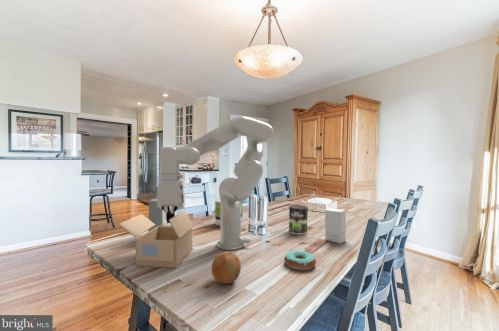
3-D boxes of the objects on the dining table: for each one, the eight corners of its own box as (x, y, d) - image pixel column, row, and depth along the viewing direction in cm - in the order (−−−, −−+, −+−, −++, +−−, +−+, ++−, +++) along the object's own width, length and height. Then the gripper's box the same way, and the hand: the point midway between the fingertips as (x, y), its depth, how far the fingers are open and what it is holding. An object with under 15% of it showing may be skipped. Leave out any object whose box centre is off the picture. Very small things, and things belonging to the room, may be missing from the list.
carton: (192, 248, 109) (193, 226, 109) (175, 269, 90) (175, 241, 89) (158, 247, 111) (158, 224, 110) (134, 266, 91) (134, 239, 91)
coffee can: (305, 235, 130) (306, 209, 129) (286, 233, 133) (287, 207, 133) (308, 230, 139) (309, 205, 139) (290, 228, 143) (291, 204, 142)
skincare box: (345, 240, 122) (346, 210, 122) (340, 244, 118) (341, 212, 117) (329, 236, 128) (330, 207, 128) (324, 240, 123) (324, 209, 123)
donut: (293, 256, 103) (293, 246, 103) (320, 264, 96) (321, 254, 96) (278, 265, 94) (278, 255, 94) (307, 275, 86) (307, 264, 86)
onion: (222, 272, 88) (223, 244, 87) (246, 279, 83) (246, 250, 82) (204, 284, 79) (205, 254, 79) (230, 293, 74) (230, 260, 74)
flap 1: (155, 224, 109) (141, 213, 109) (135, 236, 93) (119, 223, 93) (155, 225, 109) (140, 214, 109) (135, 237, 93) (118, 224, 93)
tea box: (230, 219, 161) (230, 197, 160) (242, 222, 155) (243, 199, 154) (214, 224, 149) (214, 200, 148) (227, 227, 143) (227, 202, 142)
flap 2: (193, 226, 107) (184, 210, 107) (180, 238, 91) (169, 219, 91) (192, 226, 107) (183, 210, 107) (178, 238, 91) (168, 220, 91)
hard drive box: (162, 242, 117) (162, 201, 116) (147, 241, 118) (147, 200, 118) (177, 232, 132) (177, 196, 131) (165, 231, 134) (164, 195, 133)
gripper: (191, 177, 102) (191, 220, 103) (156, 176, 104) (157, 219, 104) (184, 178, 95) (184, 225, 95) (147, 178, 96) (148, 224, 97)
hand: (170, 222), depth 100 cm, fingers closed
